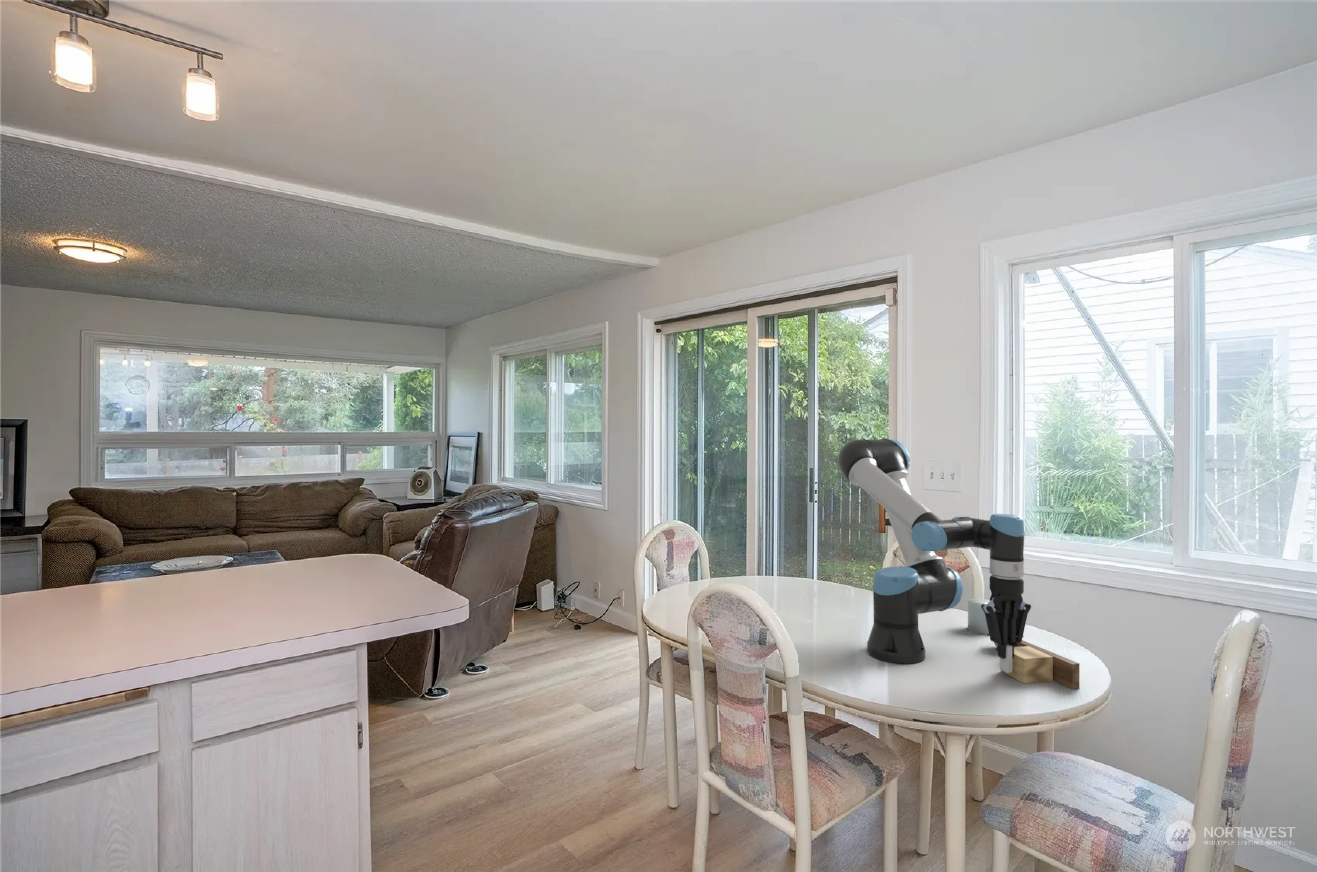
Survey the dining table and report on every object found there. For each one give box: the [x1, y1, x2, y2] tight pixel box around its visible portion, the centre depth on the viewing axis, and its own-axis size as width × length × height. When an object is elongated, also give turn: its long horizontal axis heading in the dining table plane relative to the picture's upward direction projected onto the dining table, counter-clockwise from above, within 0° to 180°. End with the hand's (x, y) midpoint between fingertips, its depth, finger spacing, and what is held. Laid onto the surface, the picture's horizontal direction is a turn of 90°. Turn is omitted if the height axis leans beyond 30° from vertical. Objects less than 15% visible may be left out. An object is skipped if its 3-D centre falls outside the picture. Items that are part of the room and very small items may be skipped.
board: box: [1014, 639, 1080, 690], centre depth 161 cm, size 2×20×6 cm, turn 13°
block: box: [1000, 646, 1054, 684], centre depth 159 cm, size 8×8×6 cm
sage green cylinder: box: [967, 597, 995, 636], centre depth 195 cm, size 8×8×9 cm
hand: (1005, 670), depth 158 cm, fingers closed
